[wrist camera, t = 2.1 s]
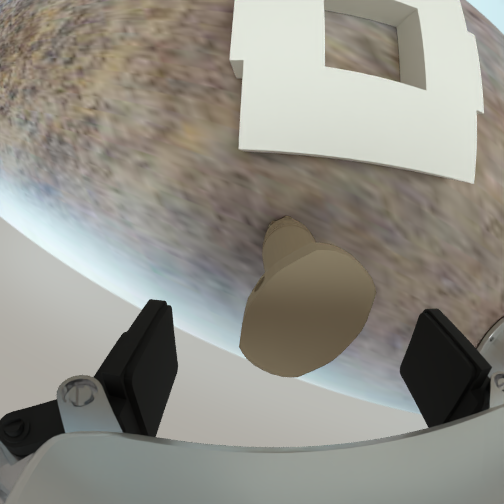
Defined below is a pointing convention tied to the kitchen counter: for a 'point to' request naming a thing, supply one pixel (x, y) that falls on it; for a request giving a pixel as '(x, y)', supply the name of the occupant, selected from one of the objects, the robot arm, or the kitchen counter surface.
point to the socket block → (359, 86)
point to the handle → (303, 302)
